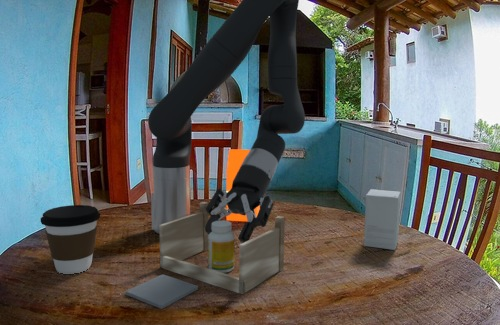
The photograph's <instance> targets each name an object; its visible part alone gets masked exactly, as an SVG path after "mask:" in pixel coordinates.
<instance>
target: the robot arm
mask: <svg viewBox="0 0 500 325" xmlns="http://www.w3.org/2000/svg"><path fill="white" fill-rule="evenodd" d="M298 7H299V0H241V1H240V3H239V4H238V5H237V6H236V7H235V9H234V10H233V11H232V12H231V13H230V15H229V16H228V17H227V18H226V20H225V21H224V22H223V23H222V24H221V26H220V27H219V28H218V29H217V31H216V32H215V33H214V34H213V35H212V36H211V38H210V39H209V40H208V41H207V42H206V44H205V45H203V46H204V47H202V49H201V50H200V52H199V53H198V55H197V56H196V57H195V59H194V60H193V61H192V62H191V64H190V65H189V67H188V68H187V69H186V71H185V72H184V74H183V76H182V77H181V79H180V80H178V82H177V83H176V84H175V85H174V87H173V88H171V90H169V92H167V94H166V95H165V96H164V97H162V99H161V100H160V101H159V102H158V103H156V104H155V105H154V107H152V109H151V110H150V113H149V115H148V120H147V123H148V128H149V131H150V133H151V135H153V137H155V138H156V144H155V145H156V146H155V150H154V153H153V155H152V172H153V175H152V177H153V181H152V182H153V193H151V195H150V203H151V204H150V205H151V206H150V211H151V230H153V231H154V232H155V233H156V234H159V235H160V232H159V225H161V224H164V223H168V222H171V221H174V220H177V219H180V218H183V217H186V216H189V215H191V189H190V188H191V184H190V183H191V182H190V181H191V178H190V176H191V175H190V172H191V171H190V166H191V164H190V160H191V159H190V158H191V153H192V131H193V130H192V116H193V114H194V113H195V112H196V110H197V108H199V106H200V104H202V102H203V101H204V100H205V99H207V98H208V97H209V96H210V95H211V94H212V93H213V92H215V91H216V90H217V89H218V88H219V87H220V86H222V85H223V84H224V83H225V82H226V81H227V80H228V79H229V78H230V77H231V76H232V75H233V74H234V72H236V70H237V69H238V68H239V66H240V65H241V64H242V63H243V62H244V60H245V58H246V57H247V56H248V54H249V52H250V50H251V49H252V47H253V45H254V44H255V41H256V39H257V37H258V36H259V33H260V31H261V29H262V27H263V26H264V24H265V23H266V21H267V20H268V19H269V23H270V25H269V26H270V33H269V34H270V35H269V43H268V44H269V45H268V51H267V89H268V92H269V93H270V94H272V95H276V96H281V98H282V101H283V104H272V105H269V106H267V107H266V108H265V109H264V110H263V111H262V113H261V114H260V118H259V122H258V127H257V135H256V138H255V140H254V143H253V145H252V146H251V148H250V149H249V150H250V152H249V153H248V155H247V156H246V157H245V159H244V161H243V163H242V165H241V167H240V169H239V170H238V172H237V174H236V176H235V178H234V180H233V183H232V188H231V190H230V191H229V192H226V191H223V190H222V188H218V189H216V191H215V192H214V195H213V196H212V197H211V199H210V201H209V202H208V206H207V207H206V211H207V212H208V215H209V217H208V222H207V224H206V226H205V231H206V233H207V234H208V235H209V234H210V233H211V232H212V229H211V227H212V222H214V221H221V220H223V218H224V217H226V216H228V215H230V214H231V213H233V214H241V215H244V216H245V215H246V217H247V221H244V225H243V227H242V228H241V230H240V232H239V234H238V240H239V242H241V244H242V243H244V242H246V241H249V240H251V236H252V235H253V232H254V230H255V229H256V228H257V227H261V228H264V227H266V226H267V222H268V220H269V218H270V215H271V213H272V210H273V207H274V205H275V204H274V202H273V200H272V199H271V197H270V196H269V195H266V193H267V191H268V189H269V187H270V185H271V182H272V180H273V177H274V176H275V174H276V171H277V167H278V165H279V162H280V161H281V158H282V156H283V153H284V151H285V149H286V141H285V139H284V138H283V137H282V136H281V135H287V134H289V135H290V134H291V135H292V134H298V133H299V132H300V131H301V130H302V129H303V128H304V125H305V123H306V115H305V114H306V113H305V110H304V107H303V104H302V100H301V99H302V98H301V95H300V91H299V87H298V56H297V38H296V37H297V34H296V33H297V30H296V29H297V14H298ZM265 195H266V196H265ZM227 205H228V208H229V209H226V206H227ZM259 205H260V210H259V212H258V215H257V217H256V214H255V210H254V209H255V208H257V207H258V206H259Z"/></svg>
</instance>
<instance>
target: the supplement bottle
mask: <svg viewBox="0 0 500 325" xmlns="http://www.w3.org/2000/svg"><path fill="white" fill-rule="evenodd" d="M232 228H233V226H232V221H229V220H223V219H220V220H219V221H214V222H212V227H211V229H212V232H211V233H210V234H209V235H208V250H207V268H208V269H212V270H215V271H218V272H222V273H225V274H228V273H229V272H231V271H233V269H234V268H235V240H236V239H235V234H234V233H233V231H232Z"/></svg>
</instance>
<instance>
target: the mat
mask: <svg viewBox="0 0 500 325" xmlns="http://www.w3.org/2000/svg"><path fill="white" fill-rule="evenodd" d="M197 290H199V286H198V285H195V284H192V283H190V282H187V281H185V280H181V279H178V278H175V277H172V276H170V275H166V274H163V273H162V274H160V275H159V276H156V277H153V278H152V279H149V280H147V281H144V282H143V283H140V284H138V285H136V286H134V287H131V288H129V289H127V290H125V292H124V293H125V295H126V296H128V297H131V298H134V299H136V300H139V301H141V302H143V303H146V304H148V305H151V306H154V307H156V308H158V309H160V310H162V309H164V308H167V307H168V306H170V305H172V304H174V303H176V302H177V301H179V300H181V299H183V298H185V297H186V296H188V295H190V294H192V293H193V292H196V291H197Z"/></svg>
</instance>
